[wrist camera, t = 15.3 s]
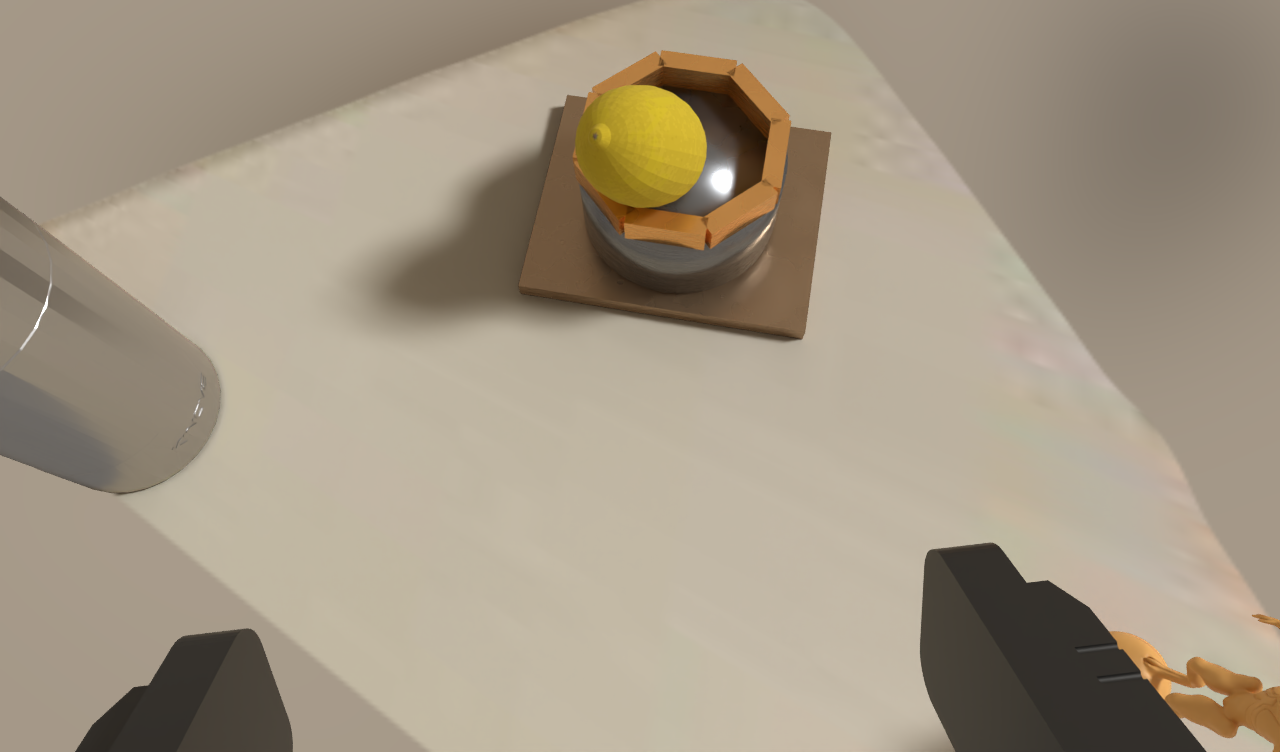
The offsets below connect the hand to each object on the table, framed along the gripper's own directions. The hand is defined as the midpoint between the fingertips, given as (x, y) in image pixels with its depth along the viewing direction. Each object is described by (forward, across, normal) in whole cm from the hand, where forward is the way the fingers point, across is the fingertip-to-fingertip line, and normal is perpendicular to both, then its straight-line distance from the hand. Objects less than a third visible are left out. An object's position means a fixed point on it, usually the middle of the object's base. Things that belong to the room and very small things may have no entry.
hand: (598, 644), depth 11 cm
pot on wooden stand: (+42, -5, +6) cm, 42 cm away
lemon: (+36, -5, +2) cm, 37 cm away
